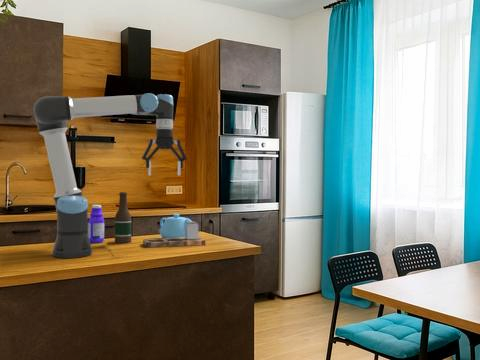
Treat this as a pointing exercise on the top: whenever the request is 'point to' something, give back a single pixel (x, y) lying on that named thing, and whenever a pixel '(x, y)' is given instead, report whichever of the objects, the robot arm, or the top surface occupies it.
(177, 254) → the top surface
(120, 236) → the beer bottle
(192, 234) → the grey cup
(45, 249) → the top surface
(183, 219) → the teapot
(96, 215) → the bottle
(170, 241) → the brown wooden board
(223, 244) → the top surface
